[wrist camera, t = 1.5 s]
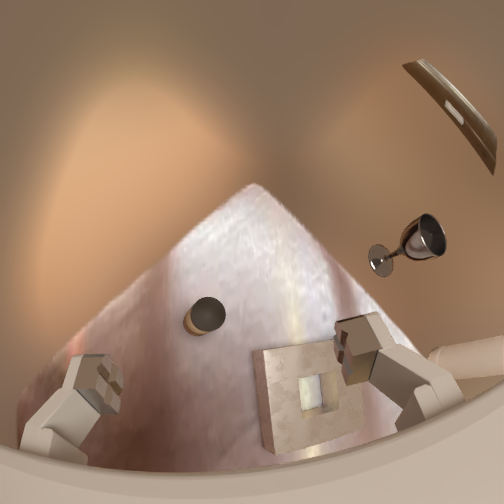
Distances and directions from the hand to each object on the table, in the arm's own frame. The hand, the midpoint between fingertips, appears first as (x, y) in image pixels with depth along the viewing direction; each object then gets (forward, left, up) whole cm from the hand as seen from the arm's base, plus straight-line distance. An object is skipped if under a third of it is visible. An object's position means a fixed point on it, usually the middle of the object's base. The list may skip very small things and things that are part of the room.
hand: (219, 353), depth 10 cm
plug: (+4, +4, -34) cm, 35 cm away
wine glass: (+42, +13, -35) cm, 56 cm away
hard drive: (+124, +85, -35) cm, 155 cm away
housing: (+20, -9, -34) cm, 41 cm away
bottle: (+55, -12, -35) cm, 66 cm away
